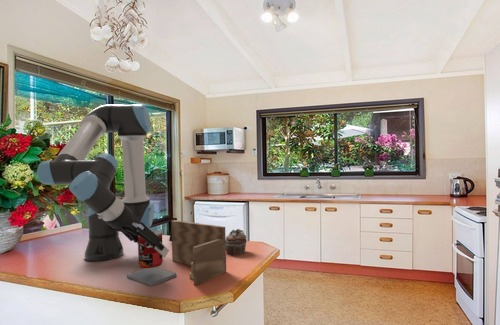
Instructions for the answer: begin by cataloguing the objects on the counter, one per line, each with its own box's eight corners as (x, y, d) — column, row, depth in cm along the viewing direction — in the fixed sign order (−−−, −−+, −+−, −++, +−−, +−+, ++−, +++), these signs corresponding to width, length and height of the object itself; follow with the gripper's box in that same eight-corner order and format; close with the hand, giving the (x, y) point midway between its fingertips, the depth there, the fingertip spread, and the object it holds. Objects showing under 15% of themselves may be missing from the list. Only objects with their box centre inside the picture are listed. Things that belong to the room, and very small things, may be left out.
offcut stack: (189, 278, 105) (189, 263, 105) (207, 270, 112) (207, 256, 112) (198, 280, 102) (197, 265, 102) (216, 272, 110) (216, 258, 110)
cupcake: (238, 248, 141) (237, 226, 141) (251, 253, 133) (250, 229, 133) (220, 252, 135) (219, 229, 135) (232, 257, 127) (231, 233, 127)
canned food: (133, 266, 105) (133, 234, 106) (152, 260, 112) (152, 229, 112) (148, 270, 101) (147, 236, 101) (167, 263, 108) (166, 231, 108)
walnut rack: (144, 270, 114) (143, 226, 114) (175, 259, 126) (174, 220, 126) (196, 285, 98) (195, 235, 98) (226, 271, 110) (225, 226, 110)
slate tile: (126, 277, 107) (126, 274, 107) (150, 269, 115) (150, 266, 115) (152, 286, 99) (151, 282, 99) (176, 276, 107) (176, 273, 107)
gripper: (89, 219, 100) (134, 257, 113) (126, 225, 88) (172, 266, 101) (105, 201, 105) (147, 239, 118) (142, 204, 93) (184, 246, 106)
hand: (158, 251), depth 109 cm, fingers closed on canned food, 8 cm apart
